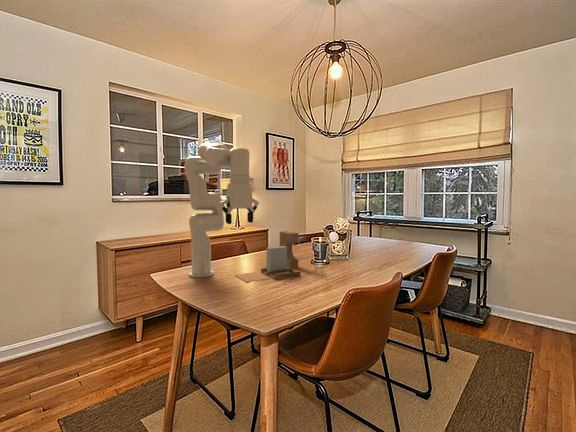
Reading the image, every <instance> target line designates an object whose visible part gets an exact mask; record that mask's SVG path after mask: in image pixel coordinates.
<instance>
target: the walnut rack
mask: <svg viewBox="0 0 576 432" xmlns="http://www.w3.org/2000/svg"><path fill="white" fill-rule="evenodd" d="M282 272H291V273H287V274H280V275H275V276H274V274H276V273H282ZM260 274H262V275H264V276H265V277H267V278H271V279H272V280H274V281H278V280H285V279H289V278H290V279H291V278H296V277H297V278H298V277H301V271H294V270H293V269H292V268H287V269H283V270H276V271H269V272H267V267H265V268H261V269H260Z"/></svg>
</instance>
